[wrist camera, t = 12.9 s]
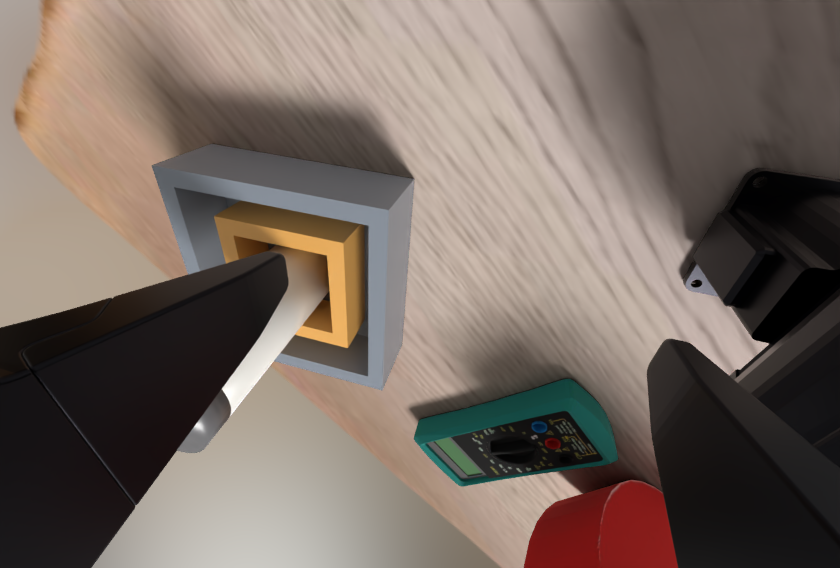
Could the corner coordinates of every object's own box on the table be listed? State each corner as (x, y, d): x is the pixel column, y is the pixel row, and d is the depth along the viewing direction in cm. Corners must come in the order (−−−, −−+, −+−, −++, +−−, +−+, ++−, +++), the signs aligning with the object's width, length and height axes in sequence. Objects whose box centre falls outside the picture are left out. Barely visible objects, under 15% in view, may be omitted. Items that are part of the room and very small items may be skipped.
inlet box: (414, 178, 21) (388, 210, 18) (402, 344, 29) (382, 390, 25) (211, 143, 23) (151, 165, 20) (249, 307, 31) (211, 344, 27)
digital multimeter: (622, 433, 29) (630, 469, 26) (462, 462, 36) (456, 493, 34) (578, 368, 26) (582, 402, 24) (416, 414, 34) (407, 443, 32)
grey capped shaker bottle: (315, 223, 23) (147, 373, 13) (351, 281, 25) (227, 450, 15) (266, 243, 25) (86, 387, 15) (303, 295, 27) (164, 454, 17)
